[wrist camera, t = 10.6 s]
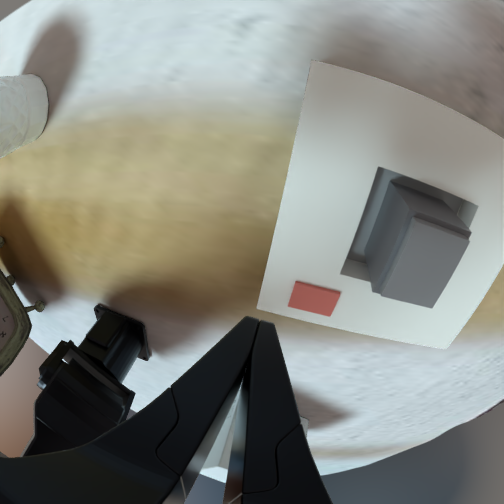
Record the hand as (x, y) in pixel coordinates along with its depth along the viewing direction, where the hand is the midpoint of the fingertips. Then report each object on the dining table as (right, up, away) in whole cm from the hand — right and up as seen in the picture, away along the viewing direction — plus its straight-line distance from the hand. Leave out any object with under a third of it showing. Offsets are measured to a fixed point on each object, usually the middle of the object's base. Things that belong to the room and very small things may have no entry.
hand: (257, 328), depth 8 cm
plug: (+9, +4, +8) cm, 13 cm away
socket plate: (+10, +4, +9) cm, 14 cm away
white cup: (-21, +15, +10) cm, 28 cm away
